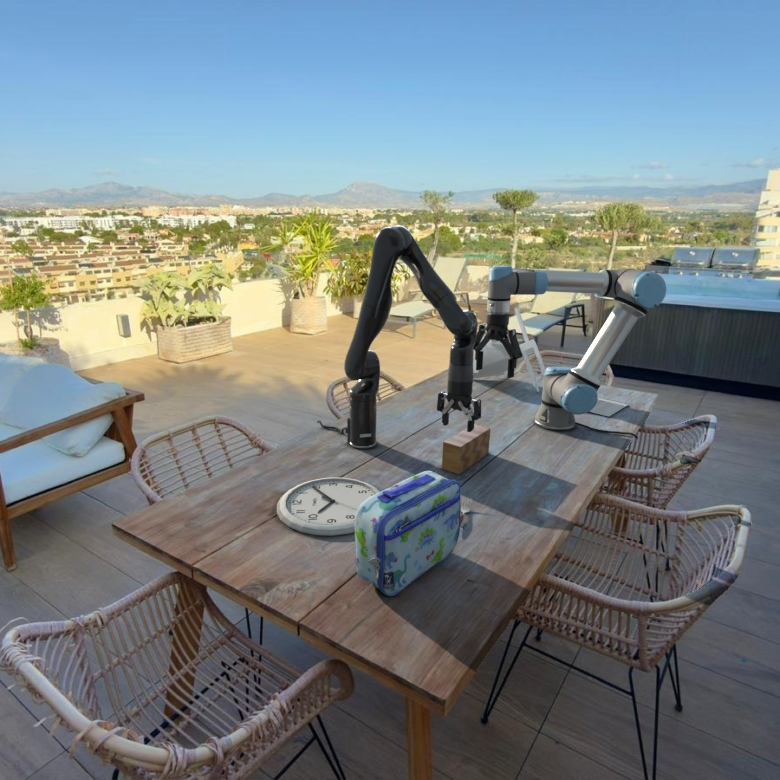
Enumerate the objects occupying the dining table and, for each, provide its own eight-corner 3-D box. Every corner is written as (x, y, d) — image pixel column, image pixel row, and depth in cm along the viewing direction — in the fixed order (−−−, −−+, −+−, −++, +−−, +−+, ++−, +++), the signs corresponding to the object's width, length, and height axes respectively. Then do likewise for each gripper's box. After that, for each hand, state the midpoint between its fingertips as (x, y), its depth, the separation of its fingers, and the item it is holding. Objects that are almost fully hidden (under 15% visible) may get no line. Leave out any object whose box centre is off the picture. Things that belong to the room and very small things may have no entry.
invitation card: (608, 416, 214) (573, 407, 224) (608, 416, 214) (573, 408, 224) (628, 404, 229) (594, 396, 238) (628, 405, 229) (594, 397, 238)
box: (472, 448, 181) (473, 423, 178) (488, 453, 178) (490, 428, 175) (441, 468, 166) (443, 441, 163) (459, 474, 162) (460, 446, 159)
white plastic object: (484, 420, 263) (463, 398, 239) (465, 347, 285) (445, 319, 261) (556, 396, 251) (542, 370, 226) (530, 322, 273) (515, 290, 248)
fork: (449, 533, 130) (450, 526, 130) (463, 503, 145) (463, 496, 144) (459, 535, 129) (460, 528, 129) (472, 505, 144) (473, 498, 143)
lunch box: (383, 609, 104) (384, 516, 98) (348, 583, 111) (347, 495, 105) (463, 555, 122) (469, 473, 115) (429, 536, 129) (432, 458, 123)
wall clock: (392, 527, 129) (268, 531, 127) (391, 533, 130) (269, 537, 127) (383, 473, 158) (282, 475, 155) (383, 478, 158) (282, 480, 156)
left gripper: (433, 376, 159) (431, 426, 163) (475, 384, 150) (472, 437, 155) (446, 371, 164) (444, 419, 169) (487, 379, 156) (483, 429, 161)
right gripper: (462, 309, 183) (460, 368, 189) (522, 318, 165) (517, 383, 171) (476, 307, 188) (473, 364, 194) (536, 316, 170) (531, 378, 176)
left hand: (457, 428), depth 162 cm, fingers open, 8 cm apart
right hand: (494, 373), depth 183 cm, fingers open, 13 cm apart
